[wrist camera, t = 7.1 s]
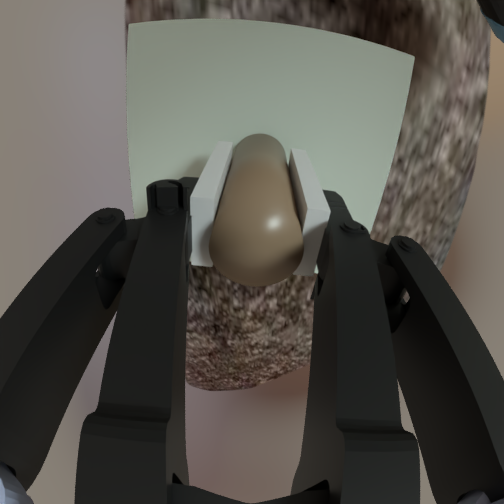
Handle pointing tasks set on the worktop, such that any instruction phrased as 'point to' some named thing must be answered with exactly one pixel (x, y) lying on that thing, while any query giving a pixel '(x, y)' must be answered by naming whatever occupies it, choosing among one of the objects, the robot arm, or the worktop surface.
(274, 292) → the worktop surface
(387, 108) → the white knobbed square piece
